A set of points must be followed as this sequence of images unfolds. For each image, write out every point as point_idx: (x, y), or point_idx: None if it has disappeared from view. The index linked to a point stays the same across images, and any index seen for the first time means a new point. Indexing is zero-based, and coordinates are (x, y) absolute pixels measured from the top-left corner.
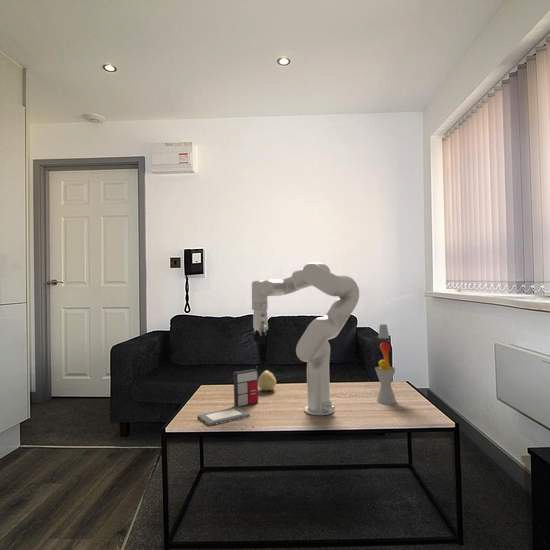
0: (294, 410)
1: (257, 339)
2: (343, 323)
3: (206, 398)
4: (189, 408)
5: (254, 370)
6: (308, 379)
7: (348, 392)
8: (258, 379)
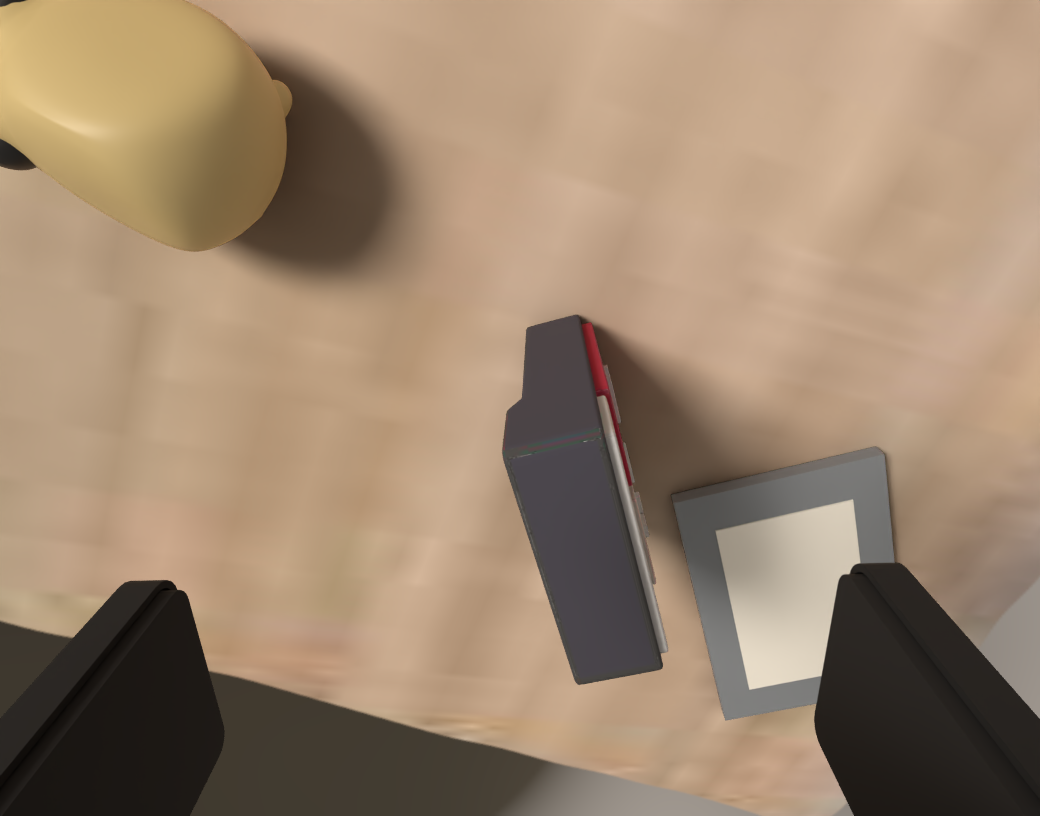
0: (948, 61)
1: (183, 703)
2: None
3: (323, 629)
4: (519, 730)
5: (602, 467)
6: None
7: None
8: (197, 249)
